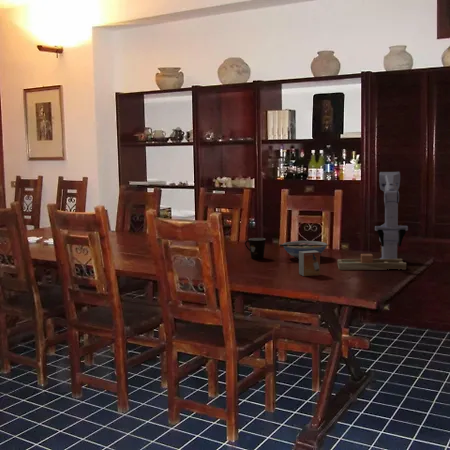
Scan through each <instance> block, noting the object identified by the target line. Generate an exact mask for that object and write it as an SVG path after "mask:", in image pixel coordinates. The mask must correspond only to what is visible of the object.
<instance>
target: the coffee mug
mask: <svg viewBox="0 0 450 450" xmlns="http://www.w3.org/2000/svg"><path fill="white" fill-rule="evenodd" d="M244 243H245V247H246V249H248V251H249V252H250V253H249V254H250V258H252V259H251V260H263V259H264V258H265V248H266V238H264V237H252V238H248V240H246V241H245V242H244ZM247 243H249V245H247ZM248 246H249V247H248Z"/></svg>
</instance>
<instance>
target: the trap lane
mask: <svg viewBox="0 0 450 450" xmlns="http://www.w3.org/2000/svg"><path fill="white" fill-rule="evenodd" d="M337 267H338V270H339V271H356V270H357V271H359V270H360V271H362V270H363V271H365V270H366V271H369V270H370V271H373V270H374V271H379V270H380V271H381V270H383V271H384V270H386V271H387V269H388V271H389V269H398V271H400V269H402V271H403V270H407V262H406V261H405V262H404V261H403V258H397V259H380V258H373V263H361V258H338V259H337Z"/></svg>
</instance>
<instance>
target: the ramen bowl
mask: <svg viewBox="0 0 450 450" xmlns="http://www.w3.org/2000/svg"><path fill="white" fill-rule="evenodd" d="M327 246H329V247H331V245H330V244H328V243H326V242H323V241H316V240H296V241H293V240H292V241H288V242H283V243H282V244H279V247H283V249H284V250H285V251H286V252H287V254H289V255H290V256H291V257H295V258H296V259H298V260H299V251H313V250H316V251H318V252H320V255H322V253H323V252H324V251H325V249H326V248H327Z"/></svg>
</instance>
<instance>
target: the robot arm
mask: <svg viewBox="0 0 450 450" xmlns="http://www.w3.org/2000/svg"><path fill="white" fill-rule="evenodd" d="M378 175H379V176H378V177H379V180H378V181H379V188H380V190H381V191H382V192H383V202H384V223H383V224H381V225H375V226H374V231H376V232H377V234H378V237H379V238H378V239H379V242H380V245H381V257H379V259H398V247H402V242H403V239H404V238H405V237H404V236H405V235H406V233H407V231H409V226H408V225H399V224H398V223H399V220H398V219H399V202H400V192H399V189H400V186H401V185H400V184H401V171H380V172H379V174H378Z"/></svg>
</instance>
